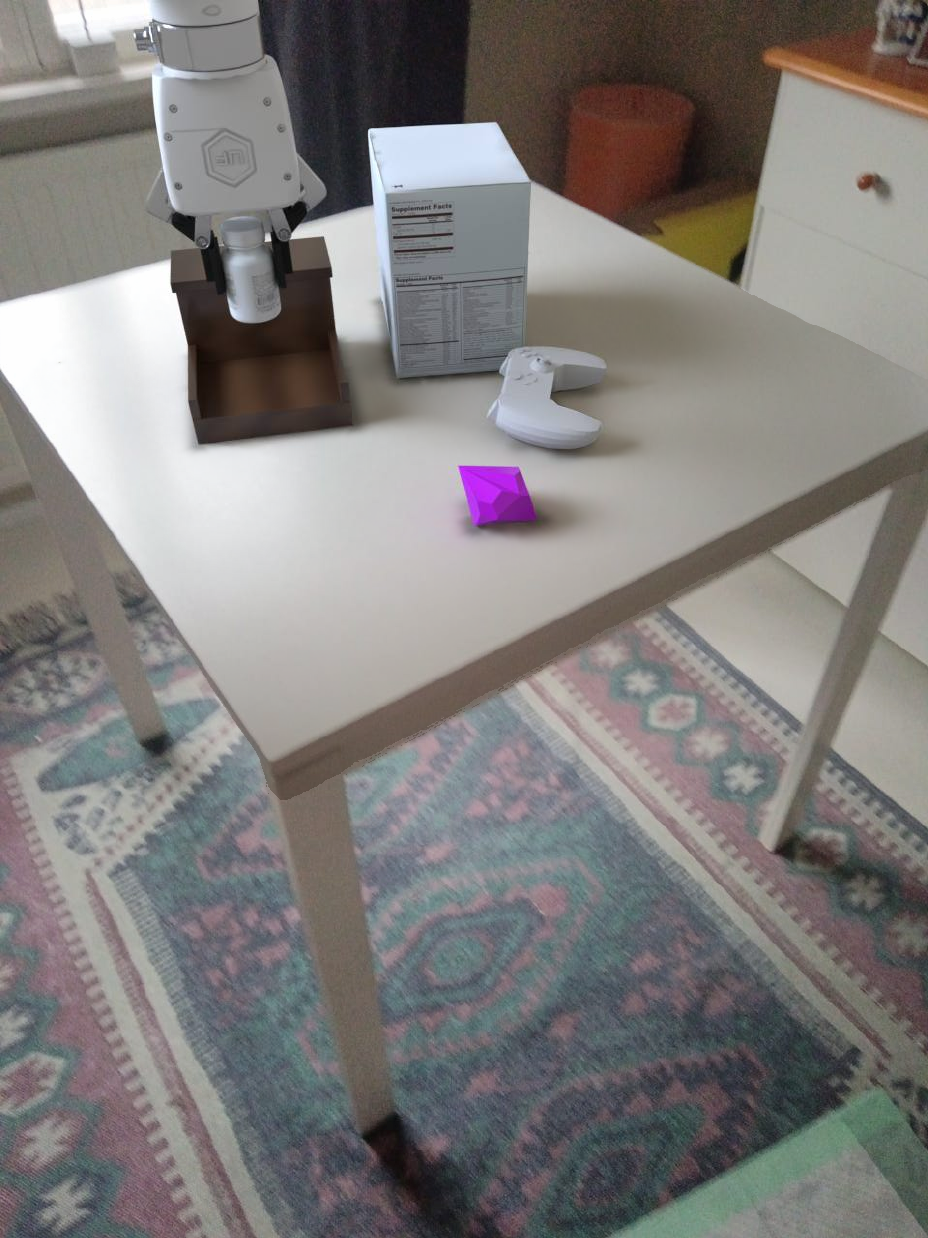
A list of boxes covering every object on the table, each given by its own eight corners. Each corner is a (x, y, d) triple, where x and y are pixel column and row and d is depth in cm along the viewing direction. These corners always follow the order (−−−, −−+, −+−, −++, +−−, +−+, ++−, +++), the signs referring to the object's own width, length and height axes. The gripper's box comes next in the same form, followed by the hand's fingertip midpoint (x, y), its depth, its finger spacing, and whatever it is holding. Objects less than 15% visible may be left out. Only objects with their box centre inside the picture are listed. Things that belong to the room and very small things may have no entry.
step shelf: (196, 444, 88) (169, 331, 81) (194, 356, 100) (170, 250, 92) (354, 425, 90) (343, 313, 83) (335, 340, 102) (323, 235, 94)
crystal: (486, 543, 78) (486, 496, 75) (453, 507, 81) (452, 461, 78) (541, 523, 80) (543, 476, 76) (506, 488, 83) (507, 442, 80)
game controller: (605, 431, 83) (491, 401, 83) (590, 472, 86) (480, 443, 86) (612, 347, 94) (510, 321, 93) (598, 387, 97) (500, 361, 96)
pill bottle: (286, 301, 86) (274, 213, 81) (275, 325, 83) (261, 235, 78) (238, 300, 87) (222, 212, 81) (224, 323, 84) (207, 233, 78)
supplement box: (528, 370, 97) (536, 182, 84) (394, 381, 96) (382, 192, 83) (497, 291, 109) (499, 117, 97) (378, 301, 108) (365, 125, 95)
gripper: (86, 65, 67) (149, 315, 80) (333, 49, 69) (355, 294, 82) (93, 37, 72) (151, 275, 85) (322, 22, 74) (345, 256, 87)
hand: (251, 282), depth 83 cm, fingers closed on pill bottle, 4 cm apart
